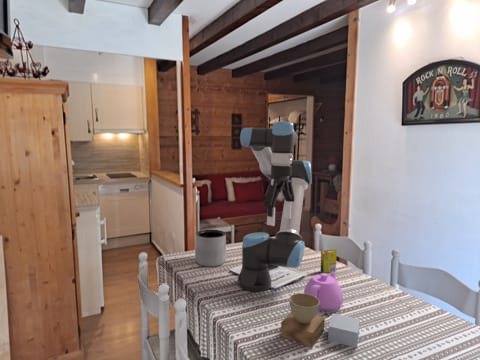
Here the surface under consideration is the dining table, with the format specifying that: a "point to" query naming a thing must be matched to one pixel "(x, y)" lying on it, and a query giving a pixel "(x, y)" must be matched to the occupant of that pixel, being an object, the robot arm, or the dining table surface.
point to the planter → (210, 248)
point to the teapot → (325, 291)
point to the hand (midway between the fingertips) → (279, 221)
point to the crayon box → (328, 261)
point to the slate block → (344, 330)
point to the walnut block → (302, 330)
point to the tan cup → (303, 307)
